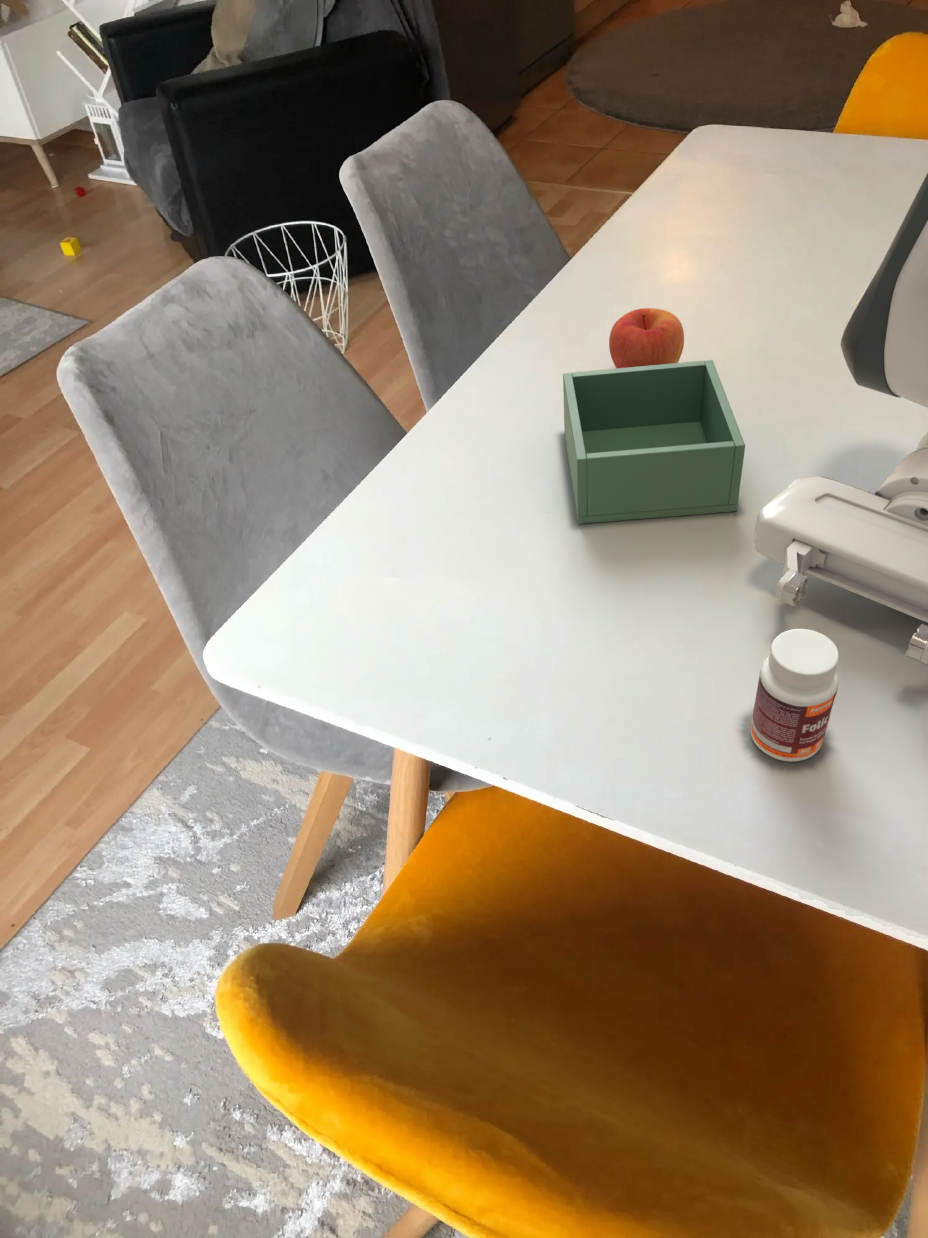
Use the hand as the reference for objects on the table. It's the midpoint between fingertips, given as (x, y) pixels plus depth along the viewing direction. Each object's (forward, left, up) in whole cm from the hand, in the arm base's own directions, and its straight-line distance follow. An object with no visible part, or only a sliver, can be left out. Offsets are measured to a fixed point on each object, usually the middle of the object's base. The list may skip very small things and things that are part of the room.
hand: (848, 623), depth 65 cm
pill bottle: (+5, +5, -5) cm, 9 cm away
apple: (+8, -41, -5) cm, 42 cm away
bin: (+10, -26, -5) cm, 28 cm away
